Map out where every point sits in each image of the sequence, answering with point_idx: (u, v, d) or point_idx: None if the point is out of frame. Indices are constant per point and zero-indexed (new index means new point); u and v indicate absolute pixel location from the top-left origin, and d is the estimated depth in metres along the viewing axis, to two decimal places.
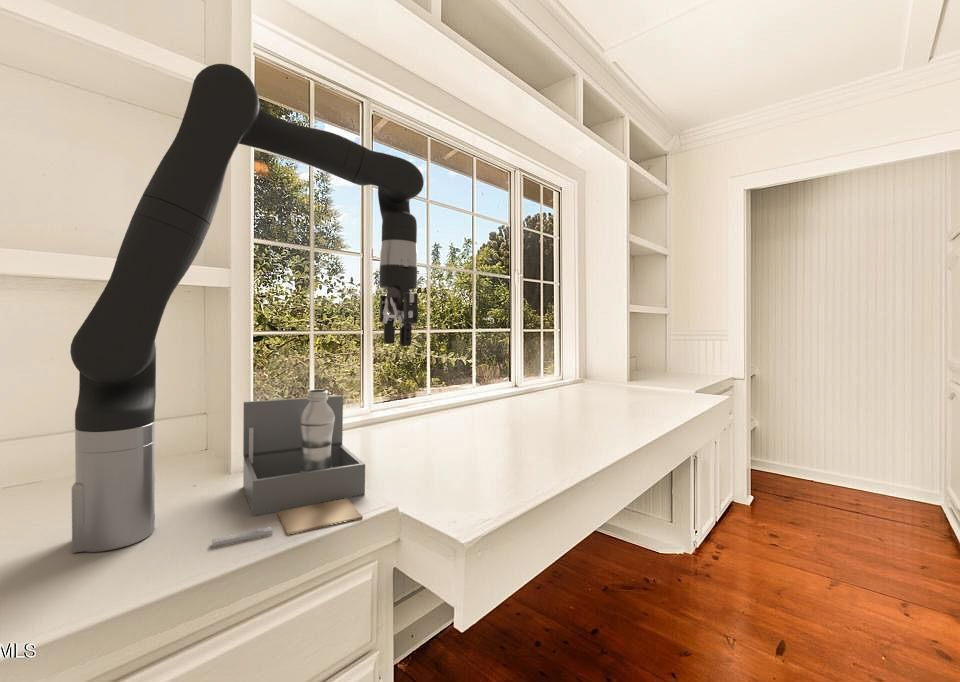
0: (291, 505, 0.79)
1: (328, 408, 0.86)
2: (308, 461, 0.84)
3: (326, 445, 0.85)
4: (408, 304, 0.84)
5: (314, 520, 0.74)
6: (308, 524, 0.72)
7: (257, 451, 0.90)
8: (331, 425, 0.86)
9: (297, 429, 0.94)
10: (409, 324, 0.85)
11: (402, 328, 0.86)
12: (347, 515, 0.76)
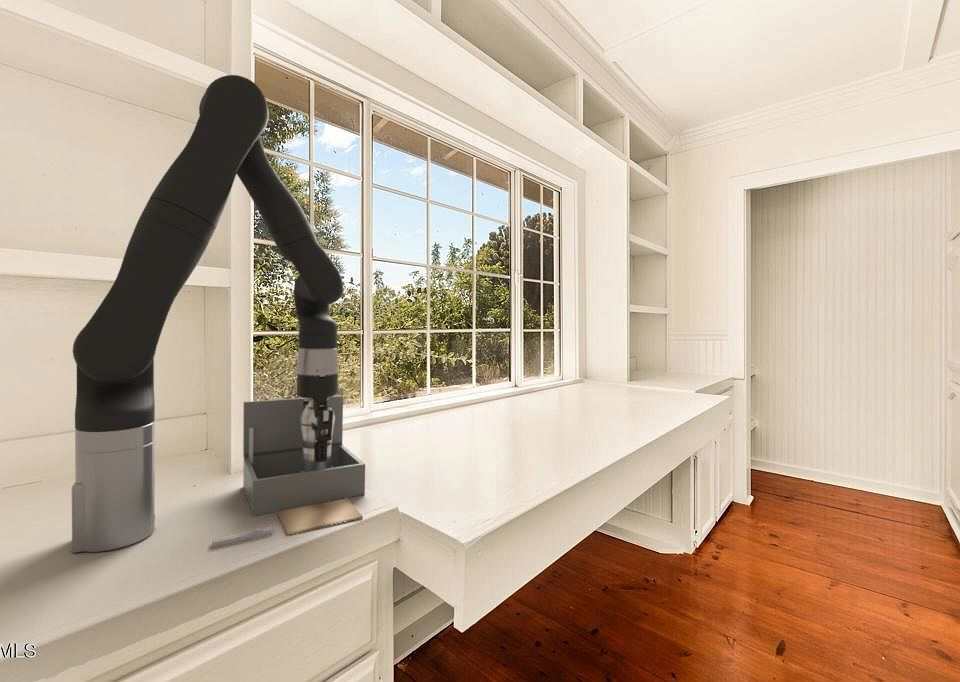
0: (291, 505, 0.79)
1: None
2: (308, 461, 0.84)
3: None
4: (321, 424, 0.80)
5: (314, 520, 0.74)
6: (308, 524, 0.72)
7: (257, 451, 0.90)
8: None
9: (297, 429, 0.94)
10: (323, 441, 0.82)
11: (316, 444, 0.83)
12: (347, 515, 0.76)
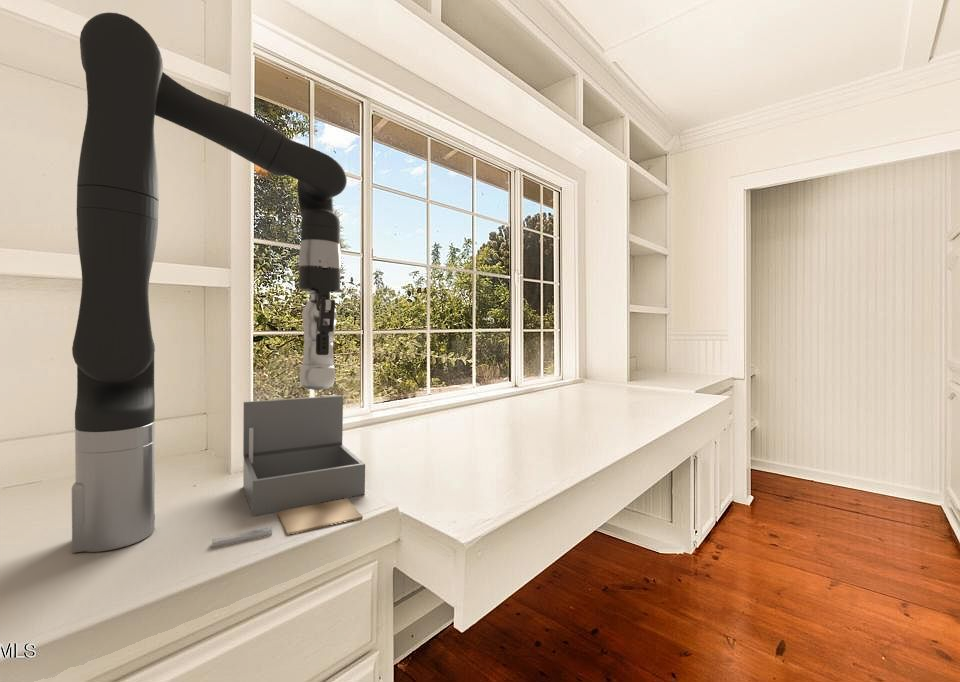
0: (291, 505, 0.79)
1: None
2: (310, 355, 0.83)
3: None
4: (323, 312, 0.80)
5: (314, 520, 0.74)
6: (308, 524, 0.72)
7: (257, 451, 0.90)
8: None
9: (297, 429, 0.94)
10: (325, 332, 0.82)
11: (318, 336, 0.82)
12: (347, 515, 0.76)
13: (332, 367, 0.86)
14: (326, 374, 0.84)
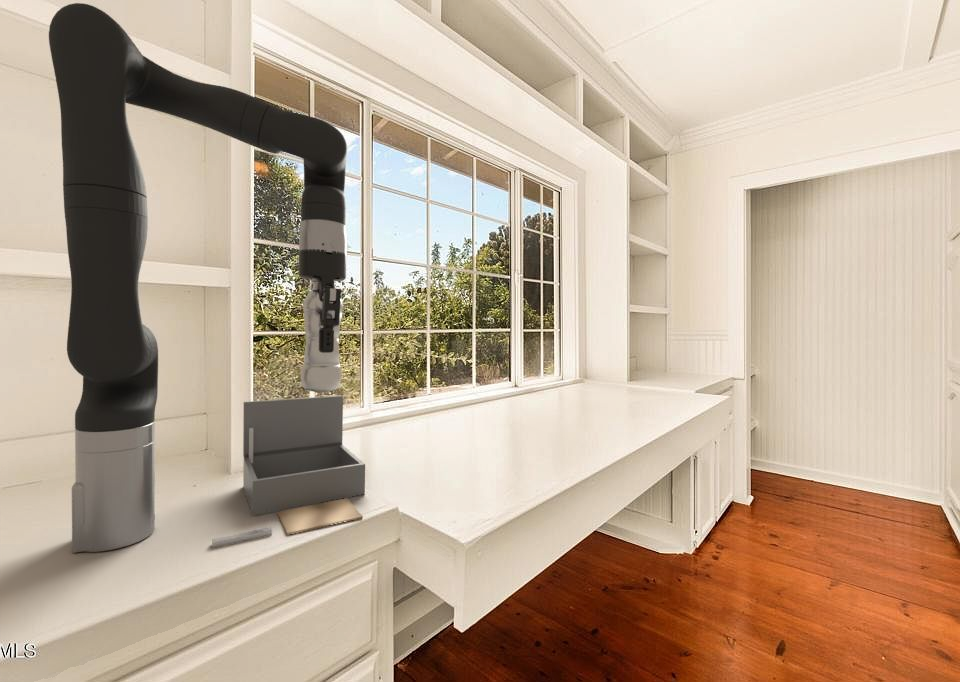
0: (291, 505, 0.79)
1: None
2: (312, 352, 0.72)
3: None
4: (327, 303, 0.69)
5: (314, 520, 0.74)
6: (308, 524, 0.72)
7: (257, 451, 0.90)
8: None
9: (297, 429, 0.94)
10: (329, 326, 0.71)
11: (321, 331, 0.71)
12: (347, 515, 0.76)
13: (338, 366, 0.75)
14: (331, 374, 0.73)
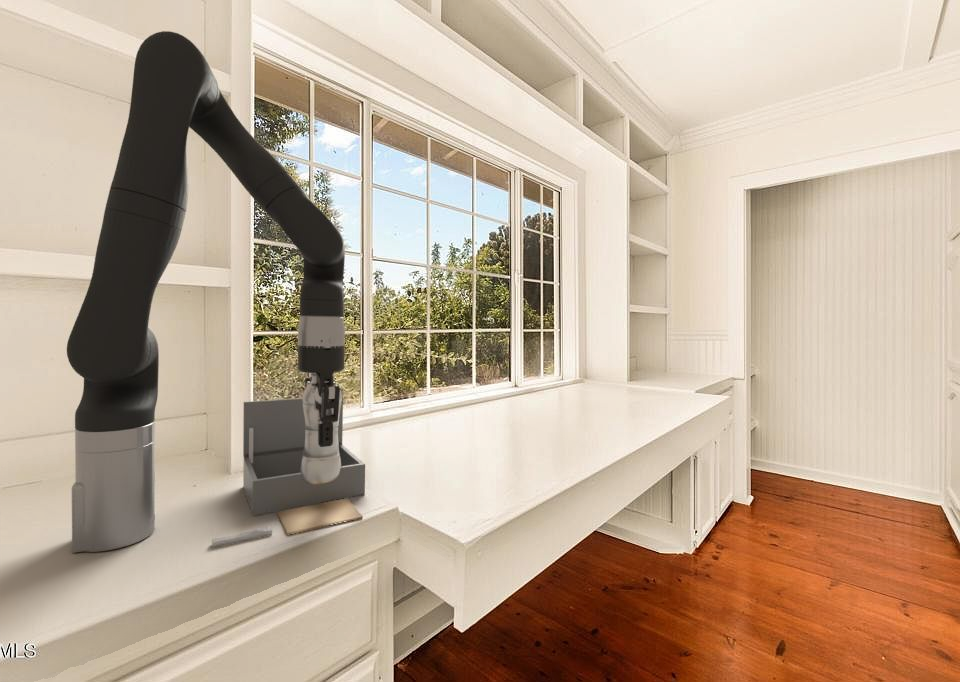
0: (291, 505, 0.79)
1: None
2: (312, 446, 0.73)
3: None
4: (326, 402, 0.70)
5: (314, 520, 0.74)
6: (308, 524, 0.72)
7: (257, 451, 0.90)
8: None
9: (297, 429, 0.94)
10: (328, 422, 0.71)
11: (321, 426, 0.72)
12: (347, 515, 0.76)
13: (337, 457, 0.75)
14: (331, 467, 0.74)
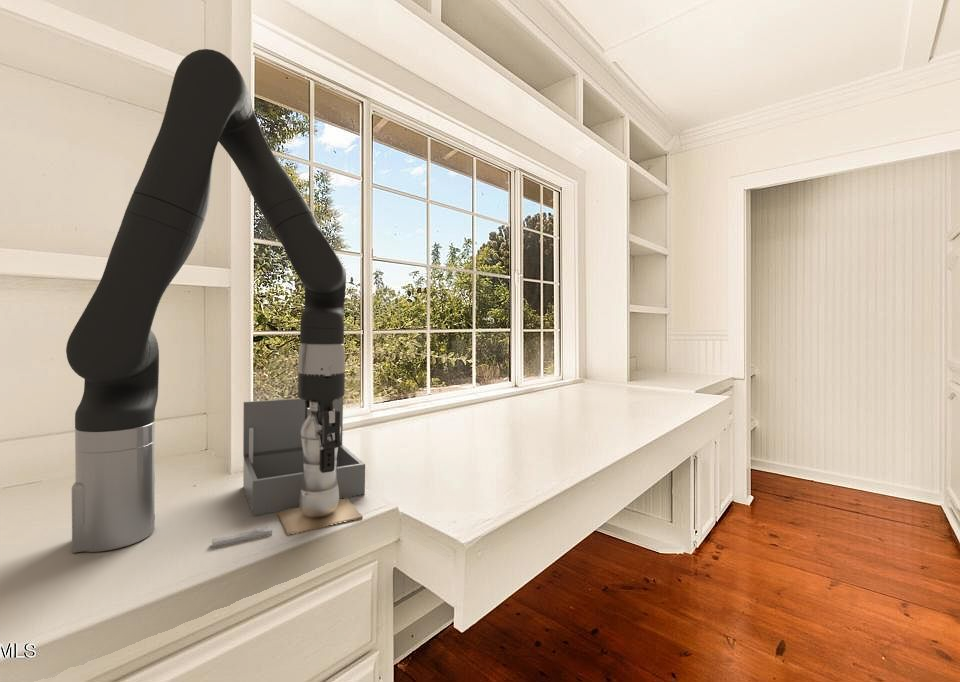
0: (291, 505, 0.79)
1: None
2: (310, 480, 0.73)
3: None
4: (327, 426, 0.69)
5: (314, 520, 0.74)
6: (308, 524, 0.72)
7: (257, 451, 0.90)
8: None
9: (297, 429, 0.94)
10: (330, 448, 0.71)
11: (322, 452, 0.71)
12: (347, 515, 0.76)
13: (335, 490, 0.75)
14: (328, 500, 0.74)
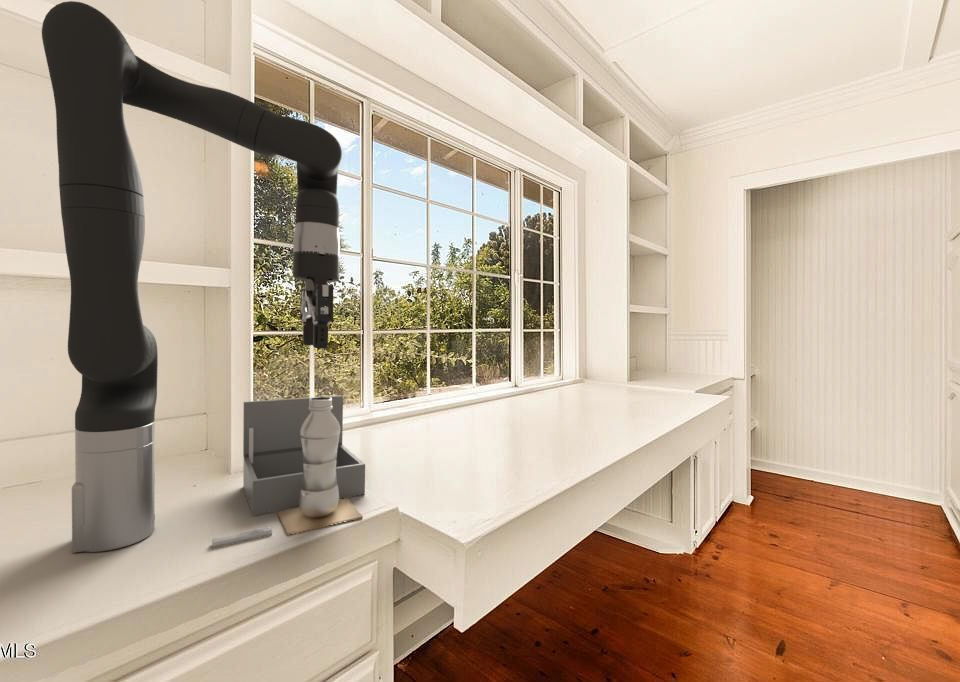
0: (291, 505, 0.79)
1: (332, 418, 0.75)
2: (310, 479, 0.73)
3: (330, 461, 0.74)
4: (320, 298, 0.70)
5: (314, 520, 0.74)
6: (308, 524, 0.72)
7: (257, 451, 0.90)
8: (336, 438, 0.75)
9: (297, 429, 0.94)
10: (323, 322, 0.72)
11: (316, 327, 0.72)
12: (347, 515, 0.76)
13: (335, 489, 0.75)
14: (328, 500, 0.74)
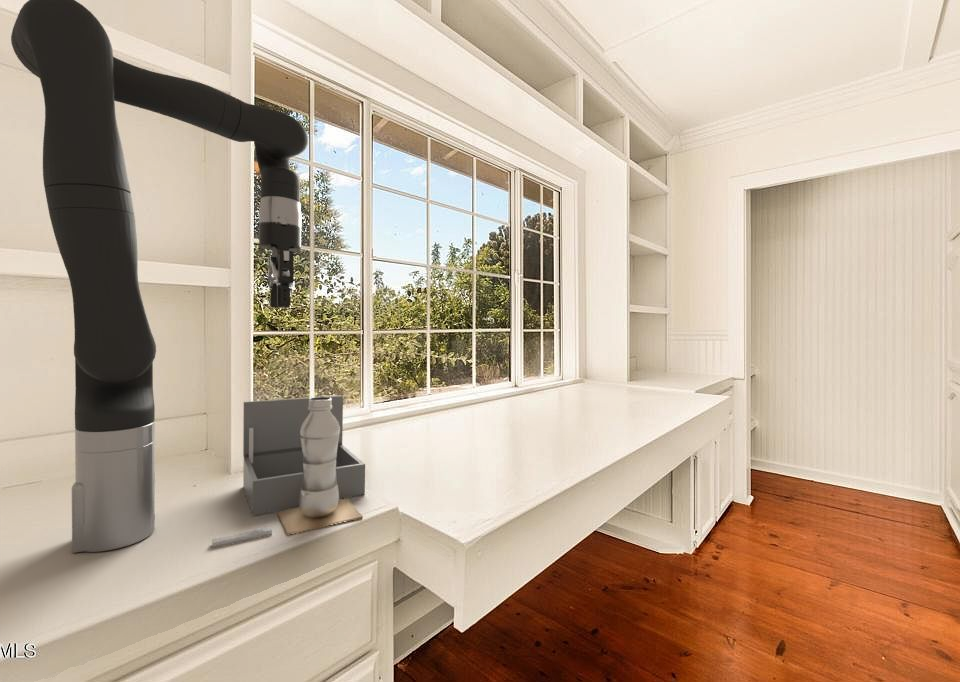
0: (291, 505, 0.79)
1: (332, 418, 0.75)
2: (309, 479, 0.73)
3: (330, 461, 0.74)
4: (282, 262, 0.81)
5: (314, 520, 0.74)
6: (308, 524, 0.72)
7: (257, 451, 0.90)
8: (336, 438, 0.75)
9: (297, 429, 0.94)
10: (285, 283, 0.82)
11: (279, 288, 0.83)
12: (347, 515, 0.76)
13: (335, 489, 0.75)
14: (328, 500, 0.74)
